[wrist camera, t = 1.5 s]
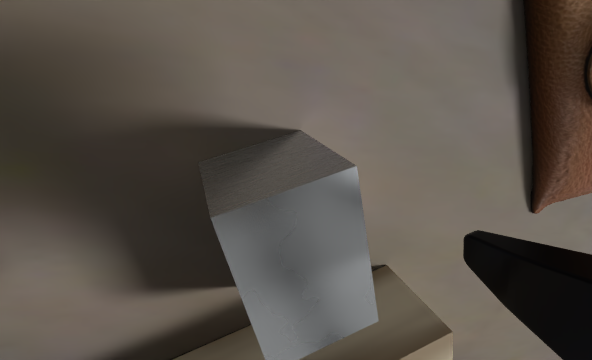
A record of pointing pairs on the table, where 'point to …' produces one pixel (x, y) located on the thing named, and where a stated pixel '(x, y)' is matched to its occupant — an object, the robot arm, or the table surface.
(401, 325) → the well
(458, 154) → the table surface
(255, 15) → the table surface
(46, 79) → the table surface
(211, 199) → the grey rectangular block
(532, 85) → the sunglasses case
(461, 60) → the table surface
